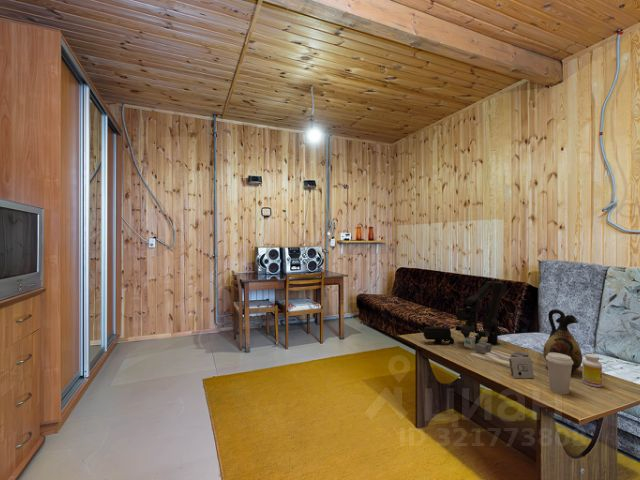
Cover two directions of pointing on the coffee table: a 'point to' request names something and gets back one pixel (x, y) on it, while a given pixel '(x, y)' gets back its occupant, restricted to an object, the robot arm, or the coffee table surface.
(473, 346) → the module block
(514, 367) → the electrical switch
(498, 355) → the rail panel
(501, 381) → the coffee table surface
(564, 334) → the ceramic jug
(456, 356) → the coffee table surface
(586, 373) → the supplement bottle
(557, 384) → the coffee cup
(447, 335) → the security camera
